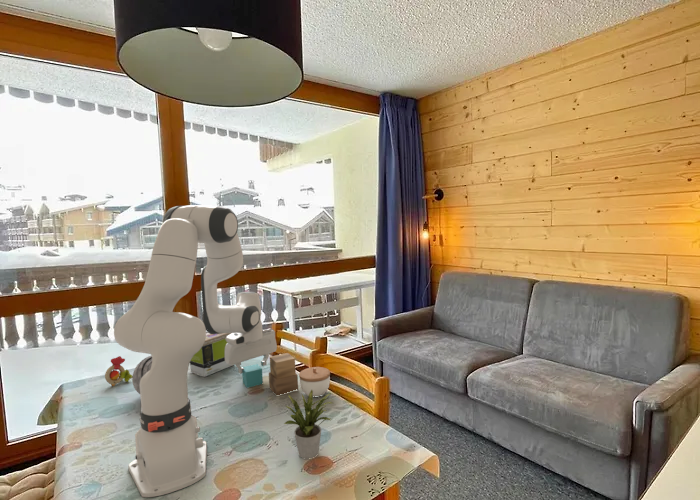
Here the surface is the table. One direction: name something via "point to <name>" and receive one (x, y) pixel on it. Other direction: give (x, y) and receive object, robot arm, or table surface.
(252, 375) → the teal block
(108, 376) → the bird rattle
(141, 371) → the decorative orb
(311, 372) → the lidded jar
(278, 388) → the tower bottom
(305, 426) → the house plant
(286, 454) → the table surface
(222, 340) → the tea box
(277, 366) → the block
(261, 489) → the table surface
